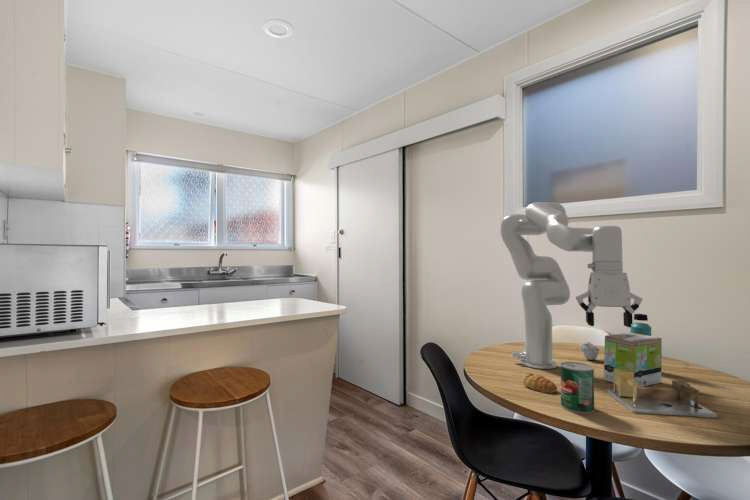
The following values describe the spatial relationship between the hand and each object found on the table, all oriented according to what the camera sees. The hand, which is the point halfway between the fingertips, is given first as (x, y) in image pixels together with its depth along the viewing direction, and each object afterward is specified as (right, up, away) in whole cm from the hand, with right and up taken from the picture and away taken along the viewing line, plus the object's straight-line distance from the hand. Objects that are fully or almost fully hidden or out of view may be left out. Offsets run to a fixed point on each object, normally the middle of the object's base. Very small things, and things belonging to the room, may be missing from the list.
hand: (609, 326), depth 108 cm
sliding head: (+1, -18, -6) cm, 20 cm away
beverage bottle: (+27, -21, +24) cm, 42 cm away
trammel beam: (+8, -19, -7) cm, 22 cm away
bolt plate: (+8, -20, -8) cm, 23 cm away
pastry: (-18, -20, +5) cm, 28 cm away
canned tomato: (-15, -20, -10) cm, 27 cm away
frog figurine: (+16, -21, +37) cm, 46 cm away
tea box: (+15, -21, +11) cm, 28 cm away
